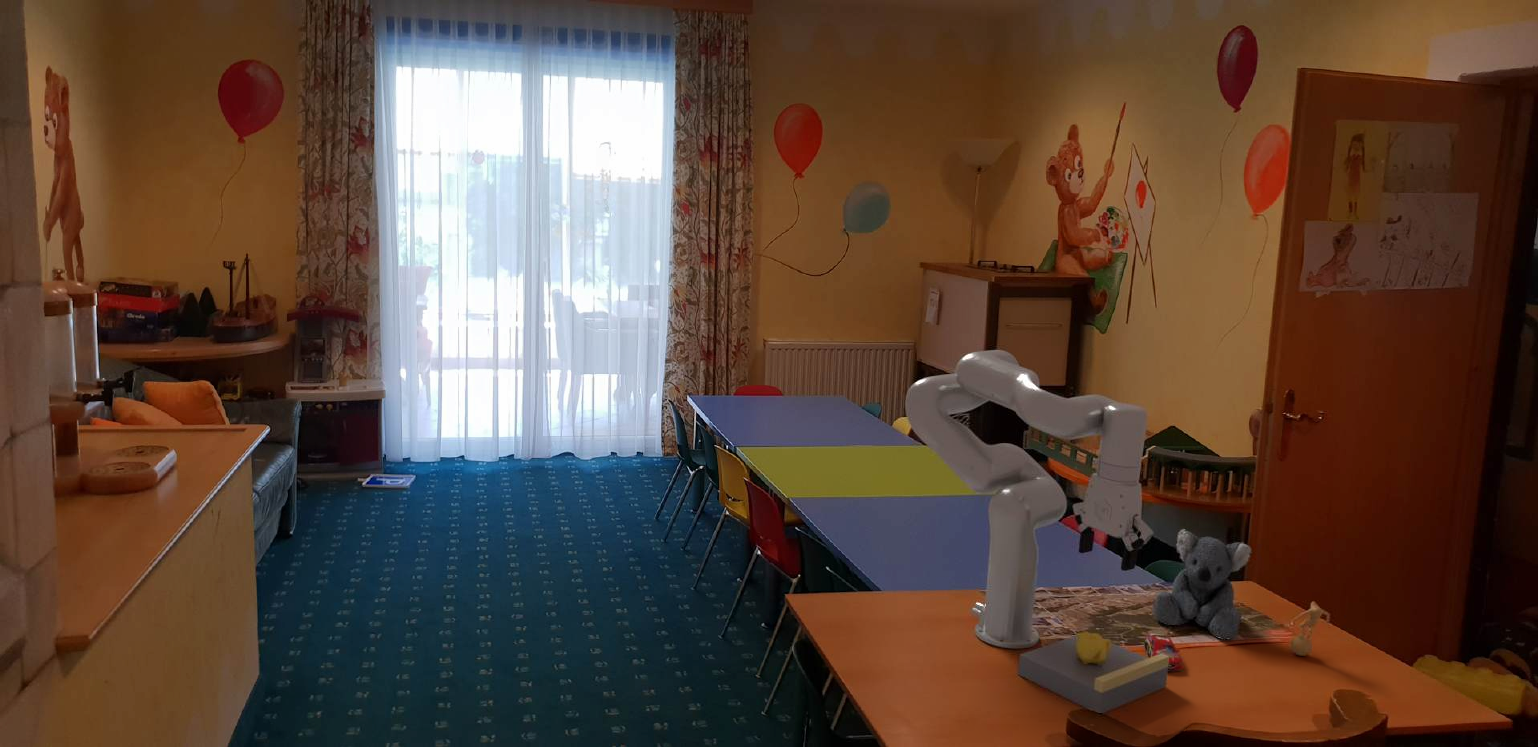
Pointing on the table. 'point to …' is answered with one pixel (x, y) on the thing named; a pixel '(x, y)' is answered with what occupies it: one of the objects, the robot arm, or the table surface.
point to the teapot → (1092, 648)
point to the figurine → (1302, 642)
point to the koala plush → (1204, 585)
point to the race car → (1163, 649)
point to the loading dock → (1094, 674)
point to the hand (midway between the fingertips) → (1106, 560)
